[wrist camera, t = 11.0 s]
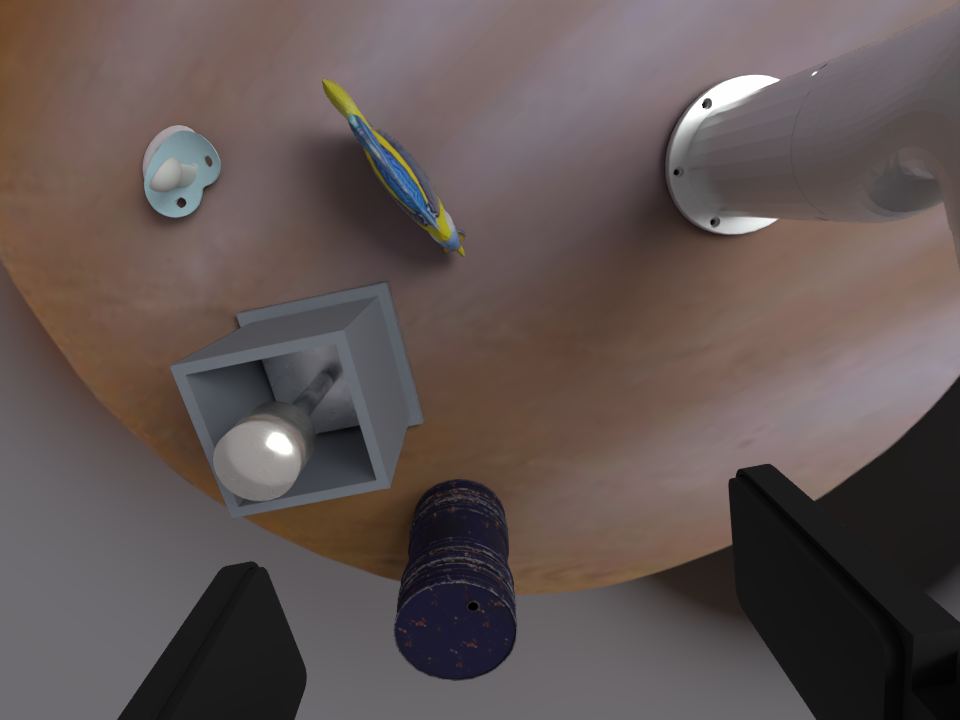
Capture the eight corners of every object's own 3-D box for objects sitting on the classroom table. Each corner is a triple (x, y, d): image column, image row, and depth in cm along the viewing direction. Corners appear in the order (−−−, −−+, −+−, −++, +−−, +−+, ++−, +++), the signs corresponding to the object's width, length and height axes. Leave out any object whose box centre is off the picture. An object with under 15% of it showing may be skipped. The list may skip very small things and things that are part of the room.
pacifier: (133, 179, 44) (193, 226, 45) (77, 173, 38) (147, 227, 39) (177, 108, 42) (238, 158, 43) (126, 90, 36) (198, 149, 37)
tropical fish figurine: (478, 242, 46) (480, 253, 36) (451, 264, 46) (445, 280, 37) (363, 88, 42) (331, 53, 32) (334, 113, 42) (294, 87, 33)
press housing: (387, 280, 46) (354, 312, 33) (424, 419, 51) (407, 497, 37) (240, 312, 47) (149, 355, 34) (288, 446, 51) (223, 532, 38)
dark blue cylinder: (478, 572, 56) (480, 698, 42) (397, 536, 55) (371, 654, 40) (523, 502, 54) (542, 610, 39) (439, 462, 52) (428, 560, 38)
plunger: (363, 317, 44) (307, 377, 29) (391, 414, 47) (352, 516, 32) (259, 338, 45) (150, 408, 30) (293, 434, 48) (208, 543, 32)
